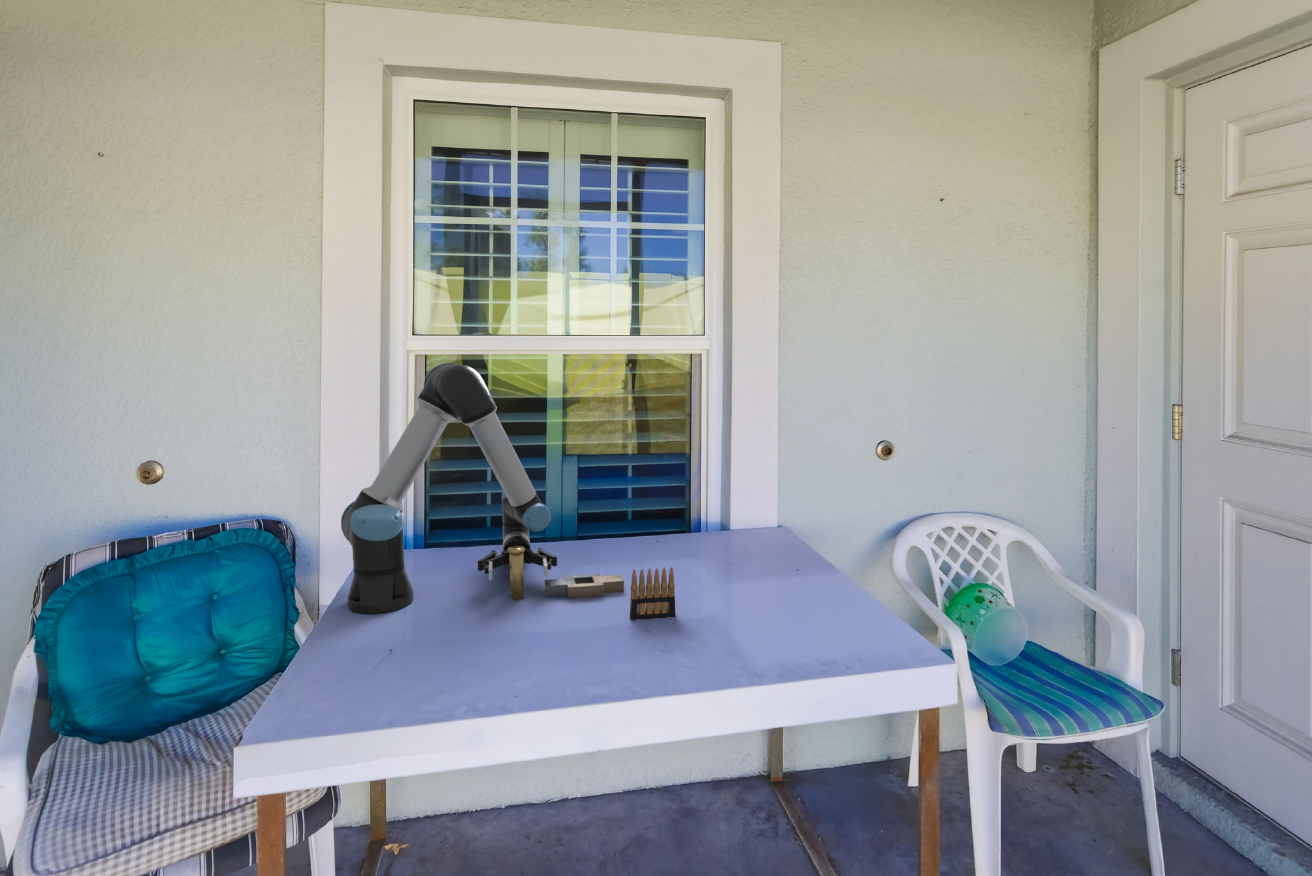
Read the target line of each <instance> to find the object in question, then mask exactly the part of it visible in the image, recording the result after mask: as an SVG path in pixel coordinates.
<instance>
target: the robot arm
mask: <svg viewBox="0 0 1312 876" xmlns="http://www.w3.org/2000/svg"><path fill="white" fill-rule="evenodd" d="M416 401H417V404H418V408H417V409H416V411H415V413H414V415H413V416H412V418H411V419H410V421H409V423H408V424H407V426H406V428H405V429H404V431H403V433H402V435H401V436H400V437H399V439H398V441H397V443H396V445H395V446H394V448H393V449H392V451H391V452H390V454H389V456H388V457H387V459H386V461H385V463H384V465H383V466H382V467H381V469H380V471H379V472H378V475H377V476H376V477H375V479H374V481H373V483H372V484H371V486H368V487H365V488H362V489H361V491H360V492H359V494H358V495H357V497H356V499H355V500H354V501H352V502H351V503H350V504H348V505H347V507H346V508H345V509H344V511H343V512H342V515H341V519H340V524H341V525H340V528H341V531H342V534H343V536H344V538H345V539H346V540H347V541H348V542H349V544H350V545H351V549H352V562H353V563H352V564H353V565H352V566H353V577H352V581H351V585H350V588H349V591H348V595H347V608H348V609H349V611H352V612H354V613H358V614H365V615H367V614H368V615H369V614H381V613H388V612H392V611H397V610H400V609H402V608H405V607H407V606H408V605H410V604H411V603H413V601H414V597H415V596H414V589H413V586H412V583H411V582H410V579H409V577H408V574H407V572H406V568H405V548H404V545H405V544H404V520H403V515H402V513H403V511H404V507H403V503H402V502H403V499H404V498H405V496H406V494H407V493H408V491H409V489H410V488H411V486H412V484H413V483H414V482H415V479H416V478H417V476H418V475H419V473H420V472H421V469H422V467H424V464H425V463H426V461H427V459H428V458H429V456H430V454H431V453H432V451H433V450H434V447H435V446H436V444H437V442H438V441H439V439H440V437H441V436H442V434H443V433H444V431H445V429H446V428H447V425H448V424H450V423H452V422H456V421H457V420H458V418H459V420H461V423H462V425H464V426H468V428H469V429H470V431H471V433H472V435H473V437H474V438H475V440H476V442H477V444H478V446H479V448H480V449H481V452H482V453H483V455H484V457H485V459H486V461H487V463H488V464H489V466H490V468H491V471H492V472H493V474H494V476H495V478H496V480H497V481H498V483H499V484H500V487H501V488H502V490H501V510H502V541H503V542H502V551H501V552H499V553H498V551H496V550H491V551H490V553H488V554H487V555H485V556H483V557H482V558H480V559H478V560H477V571H478V572H482V571H484V572H483V573H484V574H485V575H488V581H492V580H493V571H494V570H495V569H496V568H497V569H498V568H499V567H501V566H508V565H510V555H509V553H508V548H509V547H512V546H523V547H525V552H524V553H523V562H524V564H528V565H530V564H531V565H532V564H534V565H538V566H541V567H542V569H543V574H544V577H548V576H549V575H548V573H549V572H548V571H549V570H552V567H557V566H558V556H557V555H555V554H552V553H551V552H548V551H547V550H544V548H543V547H539V548H537V549H536V550H535V551H534V550H532V549H531V542H530V541H531V540H530V530H531V531H533V532H540V531H543V530H544V529H546V528H547V527H548V526H549V524H550V522H551V521H552V514H551V511H550V509H549V508H548V506H546V504H544V503H542V502H541V499H540V498H539V496H538V493H537V491H536V490H535V488H534V486H533V483H532V481H531V479H530V478H529V476H528V474H527V472H526V469H525V468H524V465H522V462H521V460H520V459H519V456H518V454H517V452H516V451H515V449H514V446H513V445H512V443H511V441H510V438H509V437H508V435H507V433H506V431H505V429H504V427H503V425H502V423H501V421H500V419H499V418H498V415H497V414H496V413H497V410H498V407H497V404H496V402H495V401H494V399H493V396H492V395H491V393H490V390H489V388H488V386H487V385H486V383H485V380H484V379H483V378H482V376H481V374H480V373H479V372H477V370H475V369H474V368H473V367H471V366H469V365H465V364H457V363H454V362H453V363H452V362H447V363H446V362H445V363H441V364H438V365H436V366H434V367H432V368H431V369H430V370H429V371H428V373H427V374H426V376H425V378H424V381H423V388H422V390H421V391H420V393H419V394H418V397H417V398H416Z"/></svg>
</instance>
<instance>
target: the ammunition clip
mask: <svg viewBox="0 0 1312 876" xmlns="http://www.w3.org/2000/svg"><path fill="white" fill-rule="evenodd" d="M668 573H669V574H668V579H667V570H666V568H665V567H663V568H662V572H661V579H660V573H659V569H658V568H657V567H656V568H655V570H654V575H652V571H651V568H650V567H649V568H648V570H647V574H646V583H645V572H644V570H643V568H641V569H640V571H639V575H638V574H637V572H636V570H635V569H634V568H633V570H632V573H631V586H630V604H629V605H630V607H629V620H631V621H638V620H637V619H644V620H653V619H654V618H655V619H654V620H656V618H659V619H667V618H666V617H674V618H676V617H677V614H676V612H677V611H676V597H675V596H676V592H675V590H676V589H675V585H676V584H675V577H674V575H675V574H674V569H673V567H672V566H671V567H670V568H669V571H668ZM637 575H638V576H639V578H638V577H637ZM653 577H654V579H653ZM638 579H639V580H638ZM667 580H668V581H667Z"/></svg>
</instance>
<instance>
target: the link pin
mask: <svg viewBox="0 0 1312 876" xmlns="http://www.w3.org/2000/svg"><path fill="white" fill-rule="evenodd" d="M524 552H525V547H523V546H512V547H509V548H508V553H509V555H510V564H509V584H510V585H509V587H510V600H512V599H513V601H520V600H523V599H524V598H525V578H524V577H525V573H524V572H525V570H524V568H525V567H524V564H525V563H524V562H523V553H524Z"/></svg>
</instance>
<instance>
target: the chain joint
mask: <svg viewBox="0 0 1312 876" xmlns="http://www.w3.org/2000/svg"><path fill="white" fill-rule="evenodd" d="M615 592H617V593H625V580H624V578H623V577H622V575H621V574H615V575H612V574H611V575H601V574H600V573H589V574H587V573H586V574H575V575H565V578H563V577H562V578H554V579H553V578H552V579H551V578H550V579H544V595H545V598H557V597H567V598H568V600H570V599H582V598H586V599H587V598H597V597H598V598H599V597H604V596H605V594H612V593H613V594H615Z"/></svg>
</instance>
